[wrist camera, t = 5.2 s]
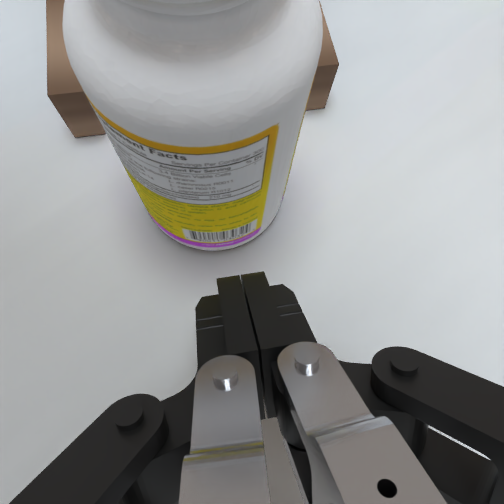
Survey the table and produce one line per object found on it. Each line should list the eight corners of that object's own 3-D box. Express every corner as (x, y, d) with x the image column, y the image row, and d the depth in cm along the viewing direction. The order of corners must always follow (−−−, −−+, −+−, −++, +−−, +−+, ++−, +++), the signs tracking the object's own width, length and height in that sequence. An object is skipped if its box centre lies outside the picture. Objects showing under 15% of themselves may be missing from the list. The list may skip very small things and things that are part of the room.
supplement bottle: (207, 111, 20) (167, -300, 8) (308, 183, 19) (441, -166, 7) (115, 199, 18) (-119, -161, 6) (221, 284, 17) (193, 53, 5)
